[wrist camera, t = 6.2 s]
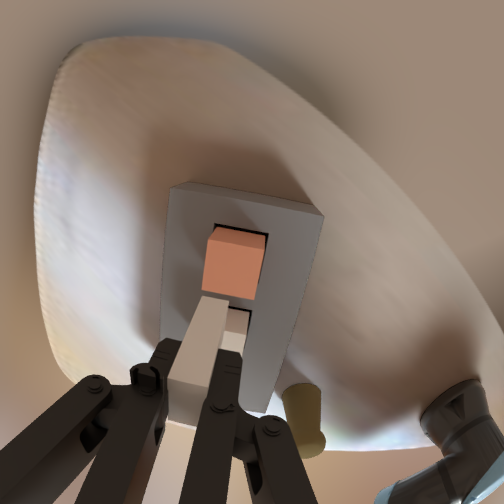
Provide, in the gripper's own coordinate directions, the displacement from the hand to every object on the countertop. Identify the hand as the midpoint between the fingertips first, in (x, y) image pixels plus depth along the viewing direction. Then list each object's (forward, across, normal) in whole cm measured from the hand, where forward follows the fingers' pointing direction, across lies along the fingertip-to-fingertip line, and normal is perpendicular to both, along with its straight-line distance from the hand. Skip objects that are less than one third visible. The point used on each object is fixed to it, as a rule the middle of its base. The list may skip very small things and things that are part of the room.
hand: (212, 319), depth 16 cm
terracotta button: (+11, 0, 0) cm, 11 cm away
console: (+17, 0, +8) cm, 19 cm away
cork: (+17, -13, +23) cm, 32 cm away
